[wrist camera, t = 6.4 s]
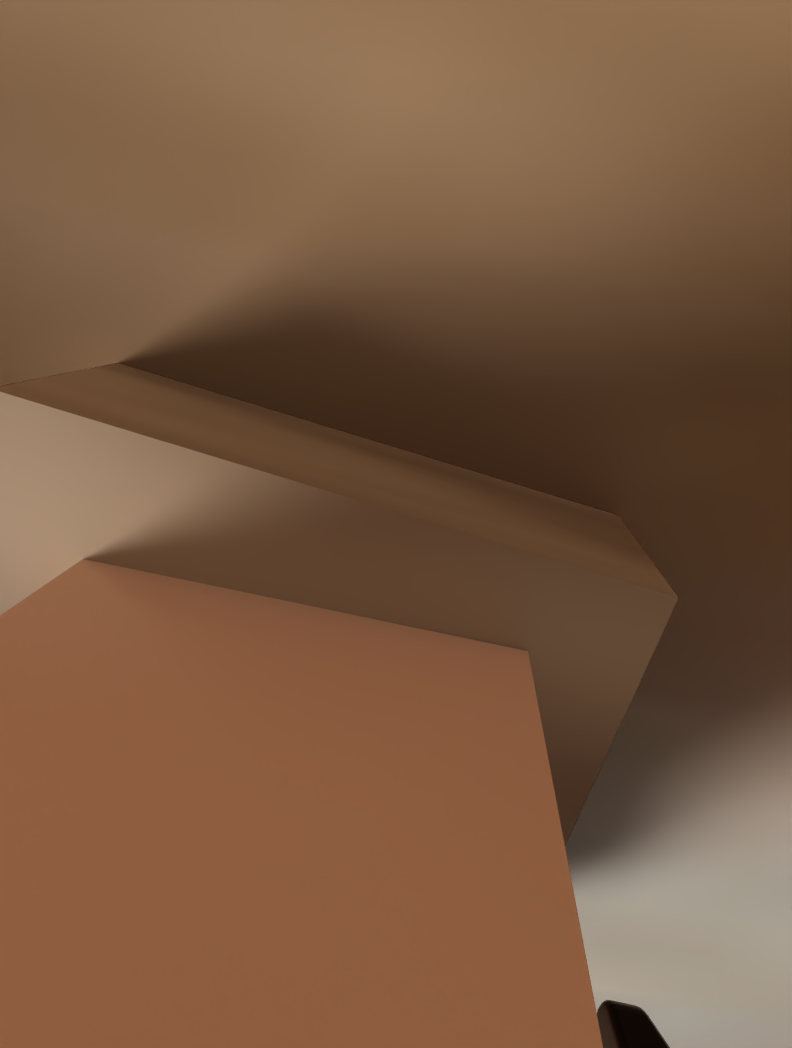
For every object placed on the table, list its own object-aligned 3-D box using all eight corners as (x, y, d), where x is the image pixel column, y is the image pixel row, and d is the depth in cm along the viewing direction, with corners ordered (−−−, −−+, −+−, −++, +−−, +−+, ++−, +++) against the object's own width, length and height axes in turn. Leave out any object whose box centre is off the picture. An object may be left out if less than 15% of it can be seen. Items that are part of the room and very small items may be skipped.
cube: (436, 988, 11) (410, 1701, 6) (64, 906, 11) (-333, 1514, 6) (527, 651, 9) (632, 1196, 4) (83, 558, 10) (-479, 942, 4)
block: (459, 887, 16) (459, 1077, 12) (60, 768, 16) (-68, 921, 12) (613, 508, 13) (678, 598, 9) (128, 360, 13) (-12, 388, 9)
